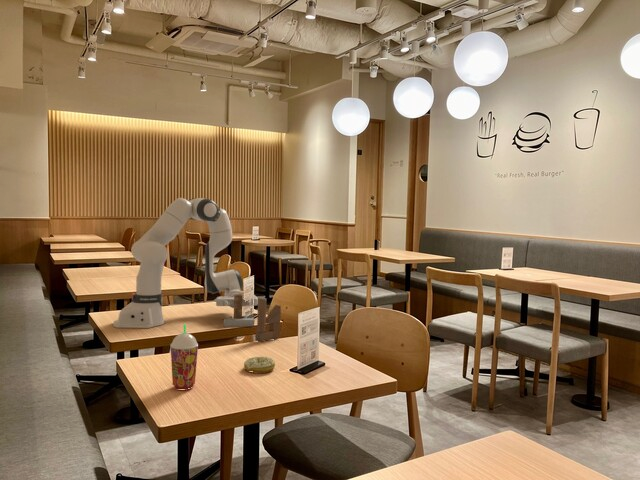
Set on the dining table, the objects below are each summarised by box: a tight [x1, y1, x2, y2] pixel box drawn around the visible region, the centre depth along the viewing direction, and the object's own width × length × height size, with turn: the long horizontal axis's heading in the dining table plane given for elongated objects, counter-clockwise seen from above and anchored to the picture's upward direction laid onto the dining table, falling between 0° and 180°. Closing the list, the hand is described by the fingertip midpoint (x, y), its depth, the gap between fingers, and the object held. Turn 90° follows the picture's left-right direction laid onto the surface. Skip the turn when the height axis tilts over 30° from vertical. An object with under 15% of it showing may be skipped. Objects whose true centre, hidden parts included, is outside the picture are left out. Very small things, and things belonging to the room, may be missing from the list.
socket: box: [223, 315, 255, 328], centre depth 253 cm, size 14×8×3 cm, turn 106°
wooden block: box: [254, 297, 282, 342], centre depth 228 cm, size 4×11×18 cm, turn 133°
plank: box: [233, 294, 243, 319], centre depth 255 cm, size 4×4×14 cm
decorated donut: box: [243, 356, 276, 373], centre depth 187 cm, size 10×11×4 cm
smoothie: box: [170, 323, 199, 390], centre depth 166 cm, size 8×8×20 cm
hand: (238, 304), depth 254 cm, fingers open, 8 cm apart
